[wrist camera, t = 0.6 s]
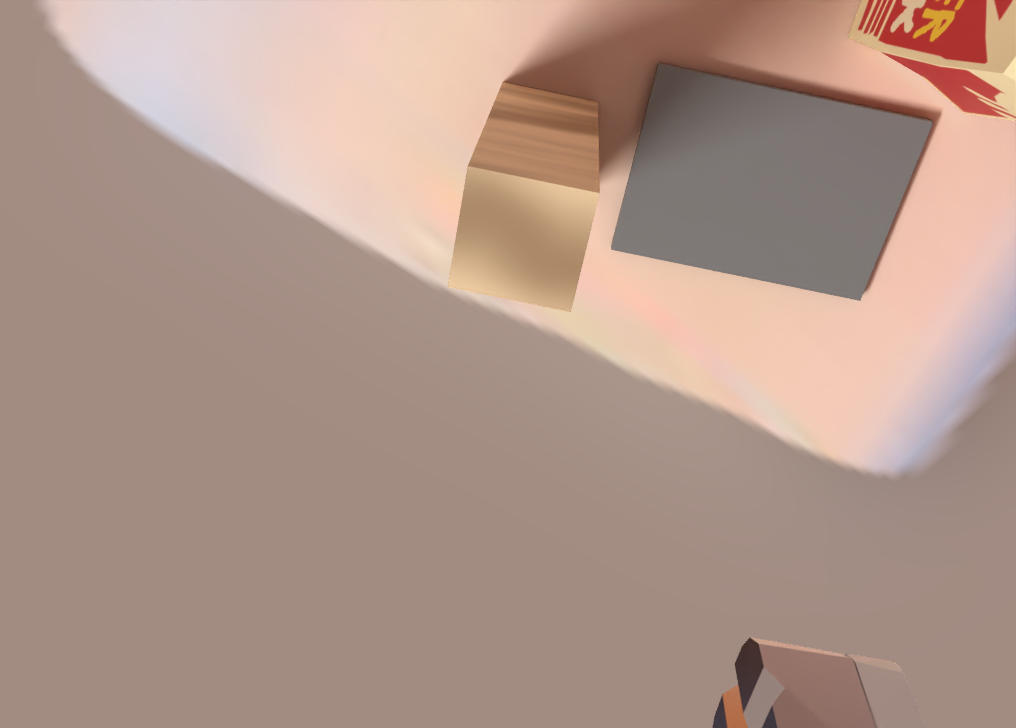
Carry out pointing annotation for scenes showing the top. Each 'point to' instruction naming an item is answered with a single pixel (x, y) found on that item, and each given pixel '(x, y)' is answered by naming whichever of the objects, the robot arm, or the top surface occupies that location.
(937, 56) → the red figurine
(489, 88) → the top surface
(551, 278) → the block
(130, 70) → the top surface
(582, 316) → the top surface
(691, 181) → the mat
